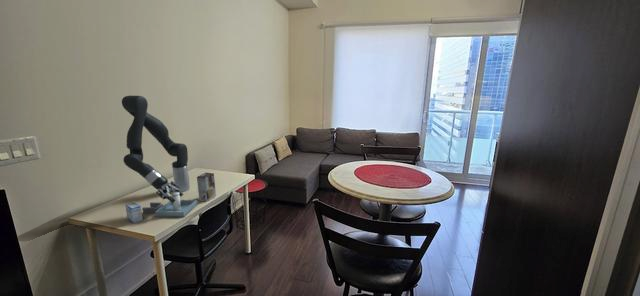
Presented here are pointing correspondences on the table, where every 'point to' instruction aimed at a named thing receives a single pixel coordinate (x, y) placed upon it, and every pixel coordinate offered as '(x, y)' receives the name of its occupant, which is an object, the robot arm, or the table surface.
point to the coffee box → (206, 186)
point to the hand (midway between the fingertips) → (178, 198)
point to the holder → (152, 207)
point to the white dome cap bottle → (176, 201)
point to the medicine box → (134, 212)
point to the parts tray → (169, 212)
